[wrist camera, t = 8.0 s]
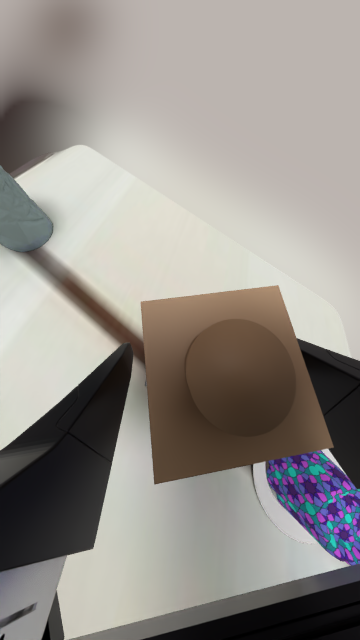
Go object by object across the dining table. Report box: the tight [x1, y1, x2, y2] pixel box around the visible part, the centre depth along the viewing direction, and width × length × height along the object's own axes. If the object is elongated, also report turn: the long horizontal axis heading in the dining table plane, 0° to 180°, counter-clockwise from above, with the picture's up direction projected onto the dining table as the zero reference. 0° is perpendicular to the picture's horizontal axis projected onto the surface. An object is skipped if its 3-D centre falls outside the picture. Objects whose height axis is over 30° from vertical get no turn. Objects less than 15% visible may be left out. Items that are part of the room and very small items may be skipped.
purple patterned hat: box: [253, 449, 360, 566], centre depth 14 cm, size 12×12×5 cm
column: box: [141, 285, 334, 484], centre depth 9 cm, size 4×4×14 cm
